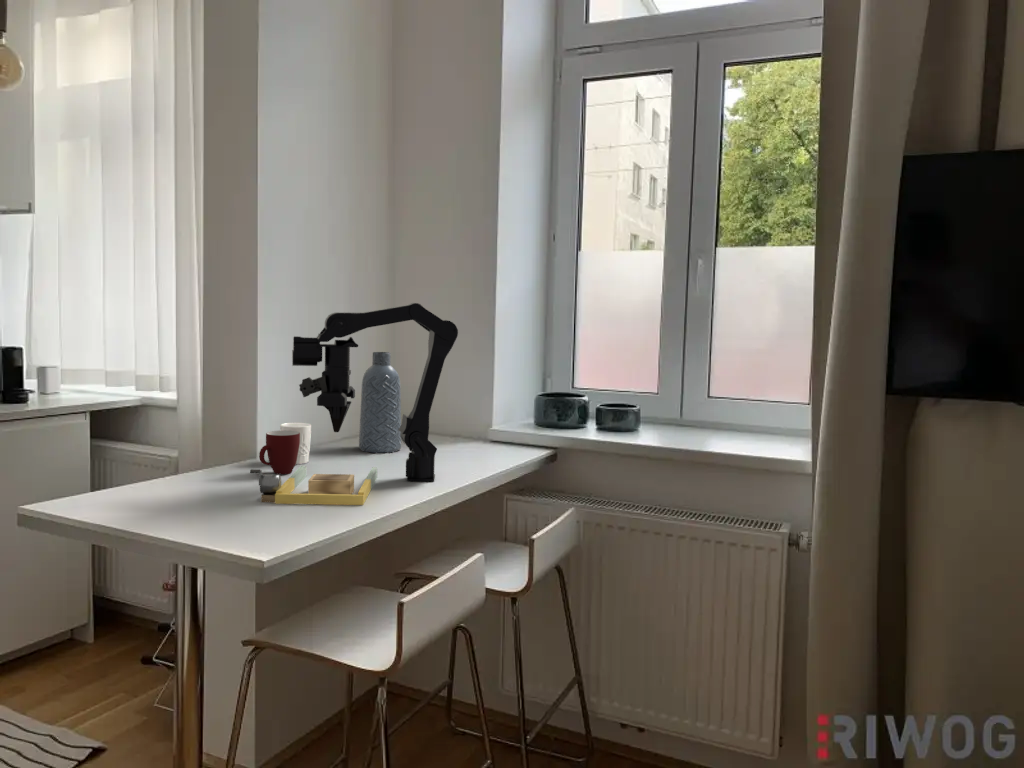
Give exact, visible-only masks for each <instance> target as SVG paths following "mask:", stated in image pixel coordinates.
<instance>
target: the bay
mask: <svg viewBox="0 0 1024 768" xmlns="http://www.w3.org/2000/svg"><path fill="white" fill-rule="evenodd" d="M306 477H307V465H300V466H299V468H297V470H296V471H294V473H292V475H290V477H288V478H287V479H286V480H285V481H284V482H283V483H282V484H281V487H280V488H279V489H278V490H277V491H276V494H275V502H274V504H276V505H282V504H283V505H285V504H286V505H338V506H339V505H340V506H343V505H345V506H346V505H348V506H364V504H365V502H366V500H367V498H368V496H369V494H370V493H371V490H372V489H373V487H374V484H375V483H376V480H377V479H378V466H375V467H374V466H373V467H371V469H370V471H369V473H368V475H367V476H366V478H365V479H364V481H363V482H362V485H360V486H361V487H360V488H359V490H358V492H357V494H353V493H352V494H308V493H293V491H294V490H295V489H296V488H297V487H298V486H299V485H300V483H301V482H302V481H303V480H304V479H305V478H306Z"/></svg>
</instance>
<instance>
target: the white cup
mask: <svg viewBox="0 0 1024 768" xmlns="http://www.w3.org/2000/svg"><path fill="white" fill-rule="evenodd" d="M279 427H280V429H279V431H283V430H286V431H297V432H299V433H300V445H299V451H298V456H297V461H296V464H295V465H304V464H307V463H309V461H310V450H311V439H312V438H311V436H312V435H311V434H312V424H311V423H308V422H285V423H281V424H280V426H279Z"/></svg>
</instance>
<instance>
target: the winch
mask: <svg viewBox="0 0 1024 768" xmlns="http://www.w3.org/2000/svg"><path fill="white" fill-rule="evenodd" d="M249 471H250V474H258V486H259V491H260V494H261V496H260V497H261V499H260V500H261V503H275V494H276V491H277V490H278V489H279V488H280V487H281V486H282V476H281V474H263V472H262V469H260V468H258V469H256V468H255V469H254V468H253V469H252V468H251V469H250V470H249Z"/></svg>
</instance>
